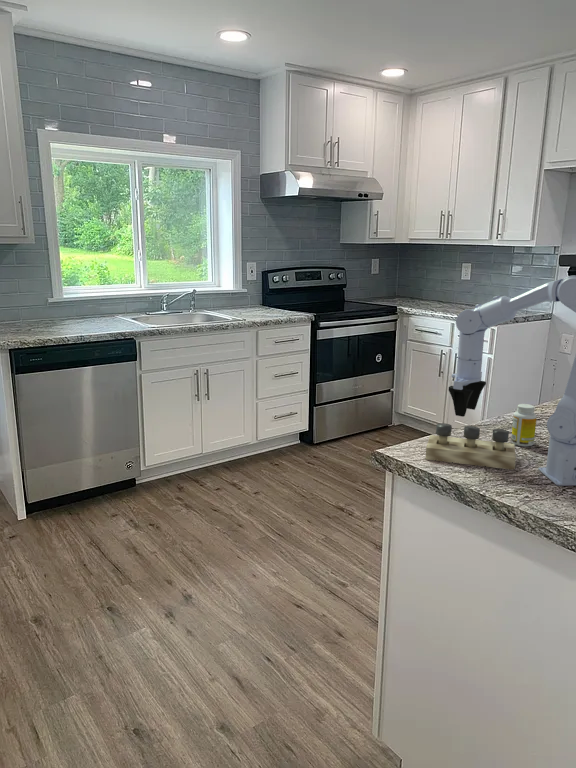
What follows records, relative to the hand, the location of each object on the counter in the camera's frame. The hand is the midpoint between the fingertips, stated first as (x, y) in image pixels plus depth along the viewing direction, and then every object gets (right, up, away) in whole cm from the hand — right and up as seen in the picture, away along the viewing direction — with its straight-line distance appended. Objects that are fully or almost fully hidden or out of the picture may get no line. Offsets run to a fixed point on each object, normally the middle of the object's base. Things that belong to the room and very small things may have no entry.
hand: (465, 412), depth 143 cm
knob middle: (0, -9, -4) cm, 10 cm away
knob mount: (0, -11, -4) cm, 11 cm away
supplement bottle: (+17, -9, +6) cm, 20 cm away
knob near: (+6, -9, -6) cm, 13 cm away
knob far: (-6, -8, -2) cm, 10 cm away
